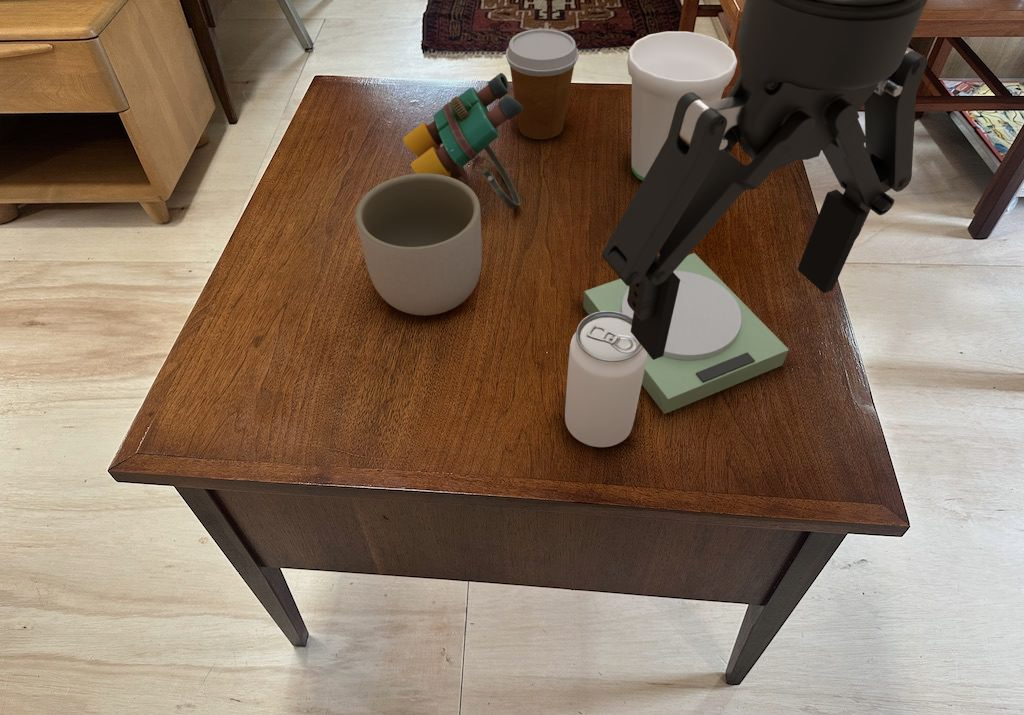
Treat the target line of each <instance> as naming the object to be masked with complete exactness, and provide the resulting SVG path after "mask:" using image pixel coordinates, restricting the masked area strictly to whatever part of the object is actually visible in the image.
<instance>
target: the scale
mask: <svg viewBox="0 0 1024 715" xmlns="http://www.w3.org/2000/svg"><path fill="white" fill-rule="evenodd" d="M674 273H675V275H676V276H677V277H678V278H679V279H680V284H679V289H678V293H677V297H676V302H675V306H674V311H673V315H672V320H671V324H670V328H669V333H668V337H667V342H666V346H665V351H664V355H663V356H662V357H660V358H657V359H654V360H653V359H652V358H651V357H650V355H649V354H648V353H647V359H646V365H645V370H644V375H643V380H642V385H641V386H642V387H643V388H644V389H645V391H646V393H648V395H649V396H650V397H651V399H652V400H653V401H654V403H655V404H656V405H657V406H658V408H659V410H661V412H662V413H663V414H664V415H667V414H668V413H671V412H674V411H675V410H678V409H680V408H683V407H685V406H688V405H690V404H692V403H694V402H697V401H700V400H702V399H706V398H707V397H709V396H712V395H715V394H717V393H719V392H721V391H724V390H726V389H729V388H731V387H734V386H735V385H739V384H741V383H743V382H746V381H748V380H750V379H753V378H755V377H758V376H760V375H763V374H765V373H768V372H771V370H775V369H777V368H779V367H782V366H783V365H784V362H785V361H786V358H787V356H788V353H789V352H790V350H789V348H788V347H787V346H786V345H785V344H784V343H783V342H782V340H780V339H779V338H778V337H777V336H776V335H775V333H774V332H772V331H771V329H769V327H767V325H766V324H764V322H763V321H761V319H760V318H759V317H758V316H757V315H756V314H755V313H754V312H753V311H752V310H751V308H749V307H748V306H747V305H746V304H745V303H744V302H743V301H742V300H741V299H740V298H739V297H738V296H737V295H736V294H735V293H734V292H733V291H732V289H730V287H729V286H728V285H726V284H725V282H724V281H723V280H722V279H720V277H719V276H718V275H717V274H716V273H715V272H714V271H713V270H712V269H711V268H710V267H709V266H708V265H707V264H706V263H705V262H704V261H703V259H701V258H700V257H699V256H698V255H697V254H696V253H695V252H693V253H689V254H688V256H687V257H686V258H685V259H684V260H683V261H682V262H681V264H680V265H679V266H678V267H677V268H676V269H675V270H674ZM628 292H629V286H626V284H625V283H624V282H623V281H622V280H621V279H620V278H618V279H614V280H612V281H609V282H606V283H604V284H601V285H598V286H595V287H592V288H590V289H586V290H584V291H583V300H582V301H583V303H582V308H583V309H584V311H585V312H586V314H588V315H590V314H593V313H596V312H600V311H616V312H620V313H624V314H626V315H628V316H630V317H632V318H633V314H634V311H633V310H632V309H631V308H630V306H629V305H628V302H627V298H628Z"/></svg>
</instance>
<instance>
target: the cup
mask: <svg viewBox="0 0 1024 715" xmlns="http://www.w3.org/2000/svg"><path fill="white" fill-rule="evenodd" d="M626 65H627V72H628V75H629V76H630V77H631V142H630V144H631V145H630V146H631V148H630V150H631V158H630V159H631V160H630V168H631V171H632V173H633V174H634V176H635V177H636V178H637V179H639V180H640V181H642V182H643V180H644V178H645V176H646V175H647V173H648V171H649V169H650V168H651V166H652V164H653V162H654V161H655V159H656V157H657V155H658V153H659V152H660V150H661V148H662V146H663V145H664V143H665V141H666V139H667V138H668V134H669V131H670V127H671V123H672V120H673V116H674V112H675V108H676V105H677V103H678V101H679V99H680V98H681V97H682V96H683V95H684V94H686V93H689V92H694V93H695V94H696V95H697V96H699V97H700V98H701V99H702V100H704V101H710V100H717V99H722V96H723V93H724V90H725V88H726V87H727V86H728V85H729V84H730V82H731V81H732V79H733V77H734V76H735V72H736V69H737V66H738V59H737V56H736V53H735V51H734V50H733V49H732V48H731V47H730V46H729V45H727V44H726V42H724V41H722V40H719V39H717V38H714V37H712V36H710V35H708V34H702V33H698V32H692V31H683V30H682V31H680V30H679V31H675V30H674V31H671V30H670V31H668V30H667V31H661V32H656V33H651V34H647V35H646V36H644V37H642V38H639V39H638V40H635V42H634V43H633V44H632V45H631V46H630V48H629V49H628V51H627V63H626Z"/></svg>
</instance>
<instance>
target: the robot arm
mask: <svg viewBox="0 0 1024 715" xmlns="http://www.w3.org/2000/svg"><path fill="white" fill-rule="evenodd" d="M927 2H928V0H744V5H743V8H742V14H741V18H740V22H739V27H738V32H737V36H736V43H737V49H738V50H737V51H738V55H739V64H740V69H739V70H740V71H739V75H738V77H737V79H736V81H735V83H734V85H733V87H732V89H731V90H730V91H729V93H728V94H727V97H724V98H721V99H717V100H710V101H704V100H702V99H701V98H700V97H699V96H697V95H696V94H695V93H694V92H689V93H686V94H684V95H683V96H682V97H681V98H680V99H679V101H678V103H677V105H676V108H675V112H674V116H673V120H672V123H671V127H670V131H669V134H668V138H667V139H666V141H665V143H664V145H663V146H662V148H661V150H660V152H659V153H658V155H657V157H656V159H655V161H654V162H653V164H652V166H651V168H650V169H649V171H648V173H647V175H646V176H645V178H644V180H643V181H642V182H641V183H640V185H639V187H638V189H637V191H636V192H635V194H634V196H633V198H632V199H631V200H630V202H629V204H628V207H627V208H626V210H625V212H624V214H623V215H622V217H621V219H620V221H619V222H618V224H617V226H616V228H615V229H614V230H613V233H612V234H611V236H610V238H609V240H608V242H607V243H606V245H605V247H604V248H603V251H602V253H601V255H602V256H601V257H602V259H603V260H604V261H605V262H606V264H607V265H609V266H608V267H610V268H611V269H612V271H613V272H614V273H615V274H616V275H617V276H618V278H619V279H621V280H622V281H623V282H624V283H625V284H626V286H629V292H628V298H627V302H628V305H629V306H630V308H631V309H632V310H633V311H634V314H633V320H632V326H631V333H632V334H633V335H634V337H635V338H636V339H637V340H638V342H639V343H640V344H641V345H642V347H643V348H644V349H645V350H646V352H647V353H648V354H649V355H650V357H651V358H652V359H653V360H654V359H657V358H660V357H662V356H663V355H664V351H665V346H666V342H667V337H668V333H669V328H670V324H671V320H672V315H673V311H674V306H675V302H676V297H677V293H678V289H679V284H680V279H679V278H678V277H677V276H676V275H675V273H674V270H675V269H676V268H677V267H678V266H679V265H680V264H681V262H682V261H683V260H684V259H685V258H686V257H687V256H688V255H690V254H691V253H692V252H693V250H694V249H695V248H696V247H697V245H698V244H699V243H700V242H701V241H702V240H703V239H704V238H705V237H706V235H707V234H708V233H709V232H710V231H711V230H712V228H714V226H715V225H716V224H717V223H718V222H719V220H721V218H722V217H723V216H724V215H725V214H726V212H727V211H728V210H729V209H730V208H731V207H732V206H733V205H734V203H735V202H736V201H737V200H738V199H739V197H740V196H741V195H742V194H743V193H744V192H745V191H747V190H750V191H751V190H756V189H758V188H759V187H760V186H761V185H762V184H763V182H764V181H765V180H766V179H767V178H768V177H769V176H770V174H772V172H774V171H777V170H780V169H783V168H785V167H787V166H789V165H790V164H793V163H795V162H796V161H808V160H811V159H813V158H818V157H820V154H821V152H822V153H823V155H824V157H825V159H826V161H827V163H828V164H829V166H830V169H831V170H832V173H833V174H834V176H835V178H836V180H837V182H838V184H839V186H840V187H841V188H842V189H844V190H843V191H844V192H843V193H842V192H841V191H840V190H839V189H837V188H836V189H833V190H831V191H827V193H826V195H825V197H824V200H823V202H822V205H821V207H820V210H819V212H818V216H817V218H816V221H815V224H814V225H813V229H812V231H811V233H810V236H809V238H808V241H807V243H806V247H805V249H804V252H803V253H802V257H801V259H800V261H799V264H798V266H797V269H796V270H797V271H798V272H799V273H801V275H803V276H804V277H805V278H806V279H807V280H808V281H809V282H810V283H812V284H813V285H814V286H815V287H816V288H817V289H818V290H819V291H820V292H821V293H822V294H827V293H829V292H832V291H833V290H834V287H835V286H836V284H837V281H838V279H839V277H840V275H841V272H842V271H843V268H844V266H845V264H846V262H847V259H848V257H849V256H850V253H851V251H852V248H853V246H854V244H855V242H856V240H857V239H858V237H859V236H860V234H861V231H862V229H863V227H864V225H865V223H866V221H867V219H868V216H869V214H870V212H871V211H872V212H874V213H875V214H876V215H878V216H882V215H885V214H887V213H888V212H889V211H890V210H891V209H892V207H894V204H895V198H893V197H892V196H890V195H889V194H887V192H888V191H890V190H893V191H894V192H896V193H898V192H902V191H903V190H904V189H906V188H907V187H908V186H909V185H910V183H911V181H912V179H913V178H912V176H913V159H914V142H915V141H914V140H915V122H916V121H915V120H916V104H917V103H916V102H917V101H916V100H917V93H918V90H919V87H920V85H921V82H922V79H923V76H924V73H925V71H926V68H927V65H928V57H926V56H924V55H922V54H920V53H919V52H917V51H915V50H914V49H912V48H910V47H909V45H910V43H911V40H912V39H913V36H914V34H915V31H916V29H917V26H918V24H919V21H920V19H921V16H922V14H923V13H924V9H925V7H926V4H927ZM863 106H864V130H863V128H862V125H861V123H860V120H859V118H860V115H859V112H858V111H860V109H861V108H862V107H863ZM737 144H739V146H740V148H741V149H742V151H743V152H744V153H745V155H747V156H748V157H749V158H750V159H751V160H752V161H751V162H750V163H748V164H745V165H744V164H743V163H742V162H741V161H740V160H738V159H737V158H736V157H735V156H734V155H733V154H732V150H733V148H734V147H735V145H737Z"/></svg>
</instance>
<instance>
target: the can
mask: <svg viewBox="0 0 1024 715" xmlns="http://www.w3.org/2000/svg"><path fill="white" fill-rule="evenodd" d="M632 320H633V318H632V317H630V316H628V315H626V314H624V313H620V312H616V311H600V312H596V313H593V314H590V315H589V314H588V315H587V316H586V317H583V319H582V320H580V322H579V323H578V325H577V327H576V331H575V332H574V333H573V336H572V337H571V340H570V345H569V351H568V352H569V354H568V366H567V380H566V393H565V406H564V422H565V426H566V428H567V430H568V432H569V433H570V434H571V435H572V437H573V438H575V439H576V440H577V441H578V442H580V443H583V444H584V445H586V446H590V447H596V448H608V447H613V446H616V445H618V444H620V443H622V442H623V441H625V440H626V439H627V438H628V437H629V436H630V435H631V432H632V430H633V427H634V422H635V418H636V413H637V409H638V403H639V399H640V394H641V390H642V389H641V388H642V386H643V385H642V380H643V375H644V370H645V365H646V359H647V352H646V350H645V349H644V348H643V347H642V345H641V344H640V343H639V342H638V340H637V339H636V338H635V337H634V335H633V334H632V333H631V326H632Z"/></svg>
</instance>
